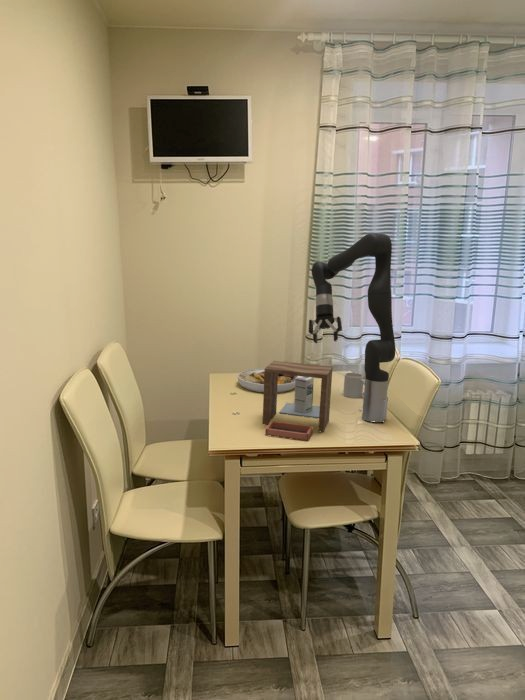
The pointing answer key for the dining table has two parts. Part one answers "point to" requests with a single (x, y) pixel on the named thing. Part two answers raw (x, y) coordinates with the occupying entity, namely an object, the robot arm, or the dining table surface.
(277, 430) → the tray
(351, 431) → the dining table surface
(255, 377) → the bowl
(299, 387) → the syrup box
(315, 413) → the pad
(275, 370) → the walnut tunnel
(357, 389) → the mug
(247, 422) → the dining table surface
